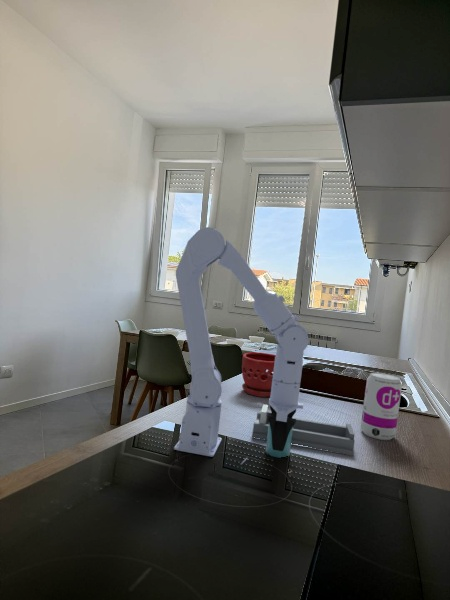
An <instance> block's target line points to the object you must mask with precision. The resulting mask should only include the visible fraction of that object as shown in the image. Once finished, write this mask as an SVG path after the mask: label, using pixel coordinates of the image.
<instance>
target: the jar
mask: <svg viewBox="0 0 450 600" xmlns="http://www.w3.org/2000/svg"><path fill="white" fill-rule="evenodd" d="M287 418H288V417H287ZM292 432H293V427H292V429H291V430H290V433H289V435H288V438H287V441H286V444H285V447H284V450H283V451H277V450H273V448H272V435H271V427H270V424H269V426H268V435H267V441H266V445H265V453H266V454H268V455H269V456H271V457H275V458H279V459H281V457H286V456H288V457H290V455H291V449H292V447H291V446H292V445H291V440H292ZM286 458H287V457H286Z"/></svg>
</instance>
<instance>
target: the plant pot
mask: <svg viewBox="0 0 450 600" xmlns="http://www.w3.org/2000/svg"><path fill="white" fill-rule="evenodd" d="M275 356H276V354H272V353H267V352H258V351H257V352H253V351H252V352H245V353H244V354H243V355H242V361H241V374H242V379H243V381H244V383H243V384H242V385H241V387H242V389H243V391H244V392H245V393H247V394H249V395H252V396H255V397H262V398H267V397H269V398H270V395H271V387H272V379H273V371H274V363H275Z"/></svg>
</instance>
